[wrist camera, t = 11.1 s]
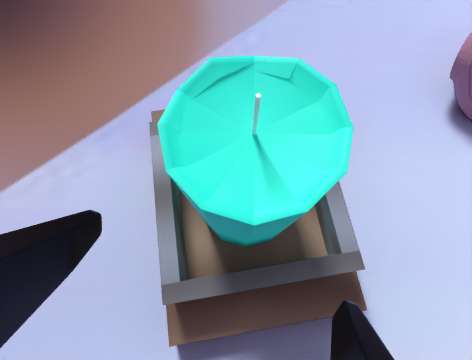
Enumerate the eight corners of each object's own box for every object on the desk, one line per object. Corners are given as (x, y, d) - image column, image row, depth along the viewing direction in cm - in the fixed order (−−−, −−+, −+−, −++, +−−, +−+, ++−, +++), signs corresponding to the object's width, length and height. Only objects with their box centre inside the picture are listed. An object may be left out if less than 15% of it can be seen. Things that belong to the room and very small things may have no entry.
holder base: (356, 306, 17) (389, 318, 14) (175, 339, 17) (156, 361, 13) (299, 100, 22) (311, 66, 18) (157, 121, 22) (139, 91, 18)
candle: (305, 188, 18) (415, 61, 7) (262, 265, 17) (313, 268, 5) (231, 147, 19) (221, -23, 8) (184, 217, 18) (88, 131, 6)
